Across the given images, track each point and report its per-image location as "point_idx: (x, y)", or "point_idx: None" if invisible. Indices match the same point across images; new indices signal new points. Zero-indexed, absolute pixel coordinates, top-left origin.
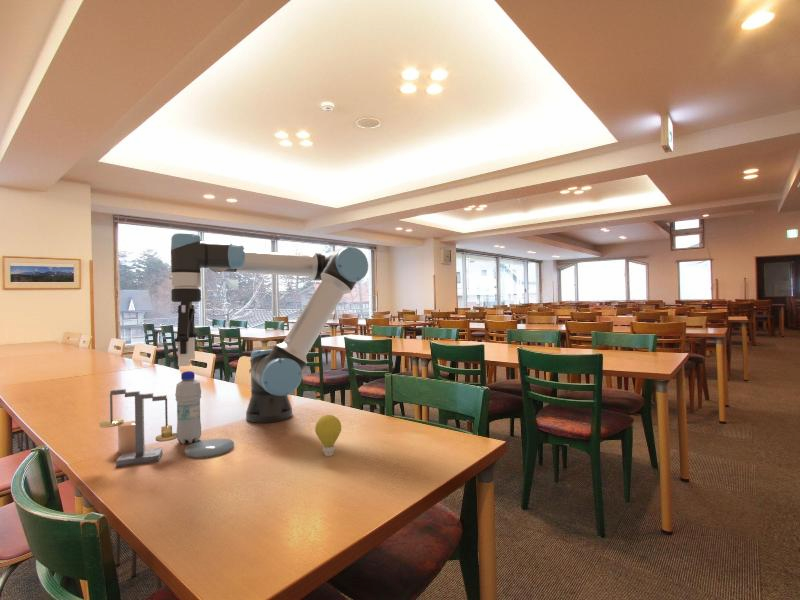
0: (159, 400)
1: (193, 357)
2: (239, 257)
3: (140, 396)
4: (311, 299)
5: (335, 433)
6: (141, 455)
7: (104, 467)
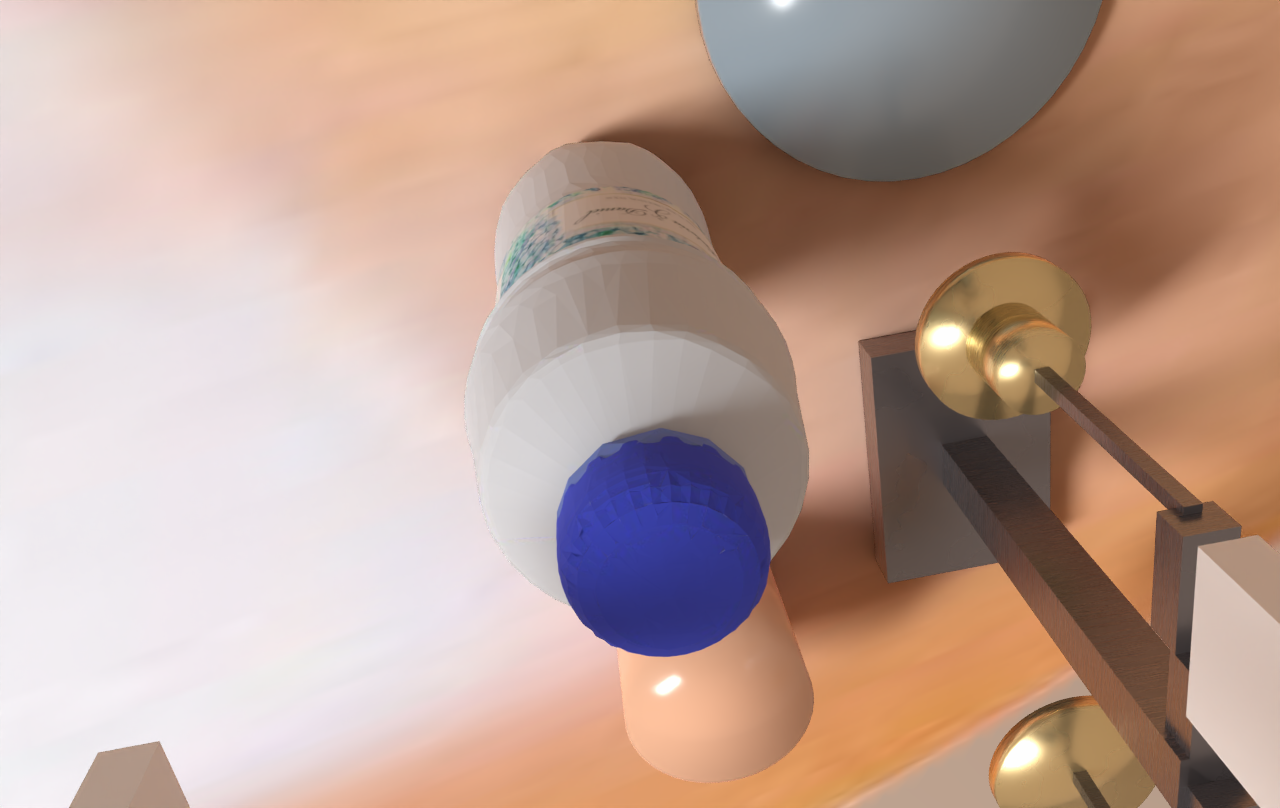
0: None
1: (152, 792)
2: None
3: None
4: None
5: None
6: (1002, 440)
7: (1006, 592)
